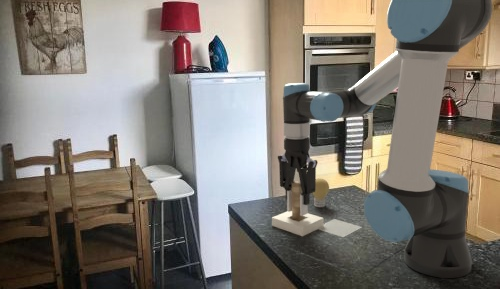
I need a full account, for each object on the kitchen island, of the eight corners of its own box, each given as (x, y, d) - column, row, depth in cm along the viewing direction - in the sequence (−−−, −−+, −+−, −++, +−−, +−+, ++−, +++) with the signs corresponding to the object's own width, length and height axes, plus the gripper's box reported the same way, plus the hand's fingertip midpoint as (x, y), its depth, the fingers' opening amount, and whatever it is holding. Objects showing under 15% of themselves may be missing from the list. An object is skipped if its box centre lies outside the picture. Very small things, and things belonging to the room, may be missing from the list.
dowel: (304, 226, 129) (304, 182, 126) (298, 229, 127) (297, 184, 124) (296, 224, 131) (296, 180, 128) (290, 227, 129) (289, 182, 126)
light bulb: (329, 210, 142) (329, 181, 140) (310, 209, 143) (310, 181, 141) (328, 203, 148) (328, 176, 146) (310, 203, 149) (310, 176, 147)
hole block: (323, 227, 128) (323, 217, 127) (302, 237, 121) (302, 227, 120) (293, 217, 136) (293, 208, 136) (272, 226, 130) (271, 217, 129)
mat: (362, 228, 126) (362, 227, 126) (343, 238, 119) (343, 237, 119) (334, 220, 133) (334, 218, 133) (314, 229, 126) (314, 228, 126)
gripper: (328, 138, 120) (328, 215, 124) (283, 131, 132) (284, 203, 137) (312, 142, 114) (312, 223, 119) (266, 135, 127) (268, 209, 131)
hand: (297, 212), depth 128 cm, fingers open, 4 cm apart
